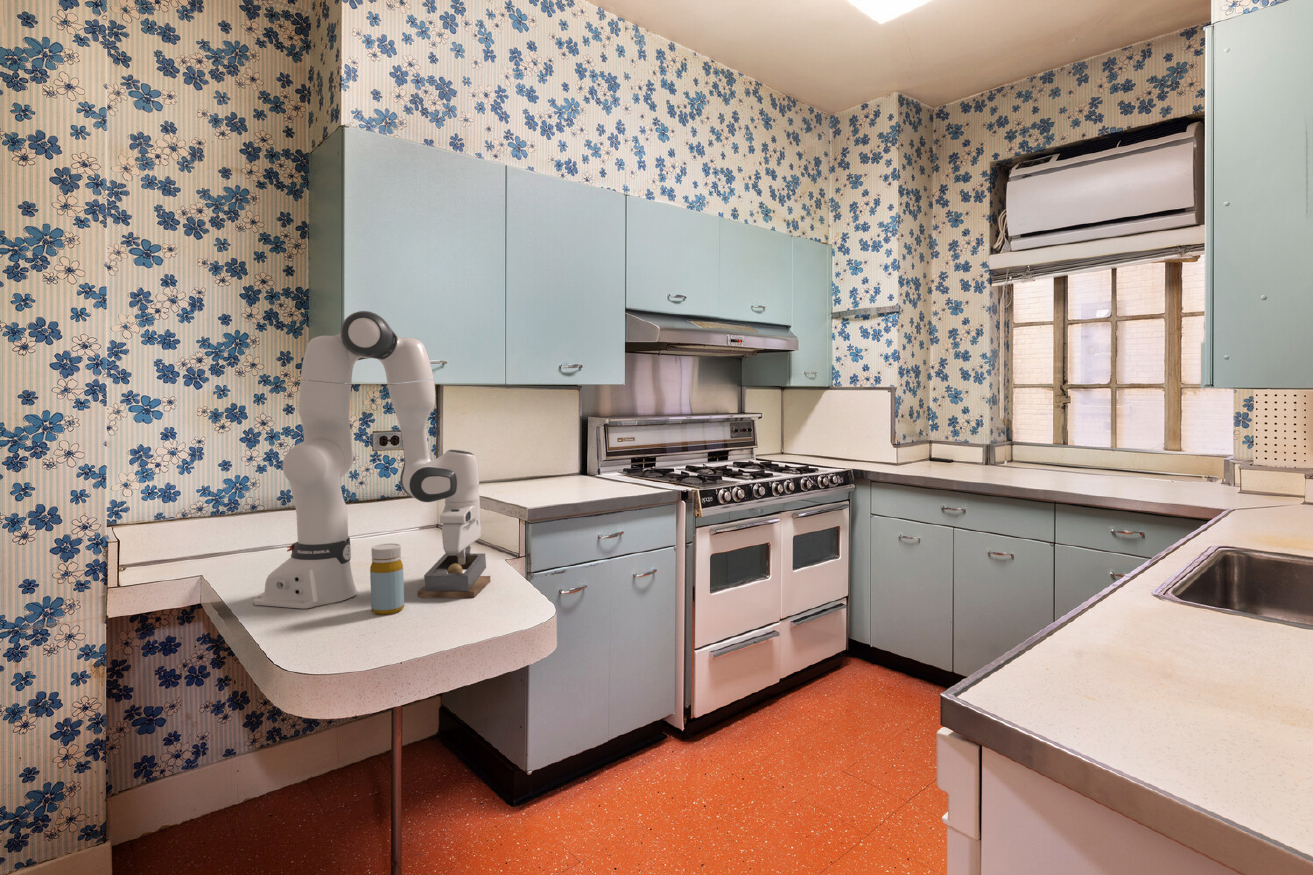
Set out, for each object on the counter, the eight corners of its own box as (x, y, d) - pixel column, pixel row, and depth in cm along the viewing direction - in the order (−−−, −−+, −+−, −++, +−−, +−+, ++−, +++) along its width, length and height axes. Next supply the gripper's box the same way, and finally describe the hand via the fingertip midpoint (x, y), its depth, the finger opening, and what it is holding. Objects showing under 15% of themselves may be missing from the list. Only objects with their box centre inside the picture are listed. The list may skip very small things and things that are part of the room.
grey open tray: (425, 590, 161) (423, 575, 160) (446, 567, 175) (445, 553, 174) (468, 590, 160) (467, 575, 160) (486, 567, 175) (485, 553, 174)
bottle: (392, 616, 147) (390, 550, 146) (364, 614, 148) (362, 549, 147) (410, 606, 154) (408, 543, 153) (383, 605, 155) (381, 542, 154)
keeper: (417, 597, 161) (417, 570, 160) (438, 581, 175) (437, 556, 174) (474, 597, 160) (473, 571, 160) (490, 581, 174) (489, 557, 174)
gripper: (463, 504, 184) (465, 553, 184) (437, 518, 163) (438, 572, 164) (486, 504, 183) (487, 553, 184) (462, 517, 163) (463, 572, 164)
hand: (464, 562), depth 174 cm, fingers closed on grey open tray, 2 cm apart
